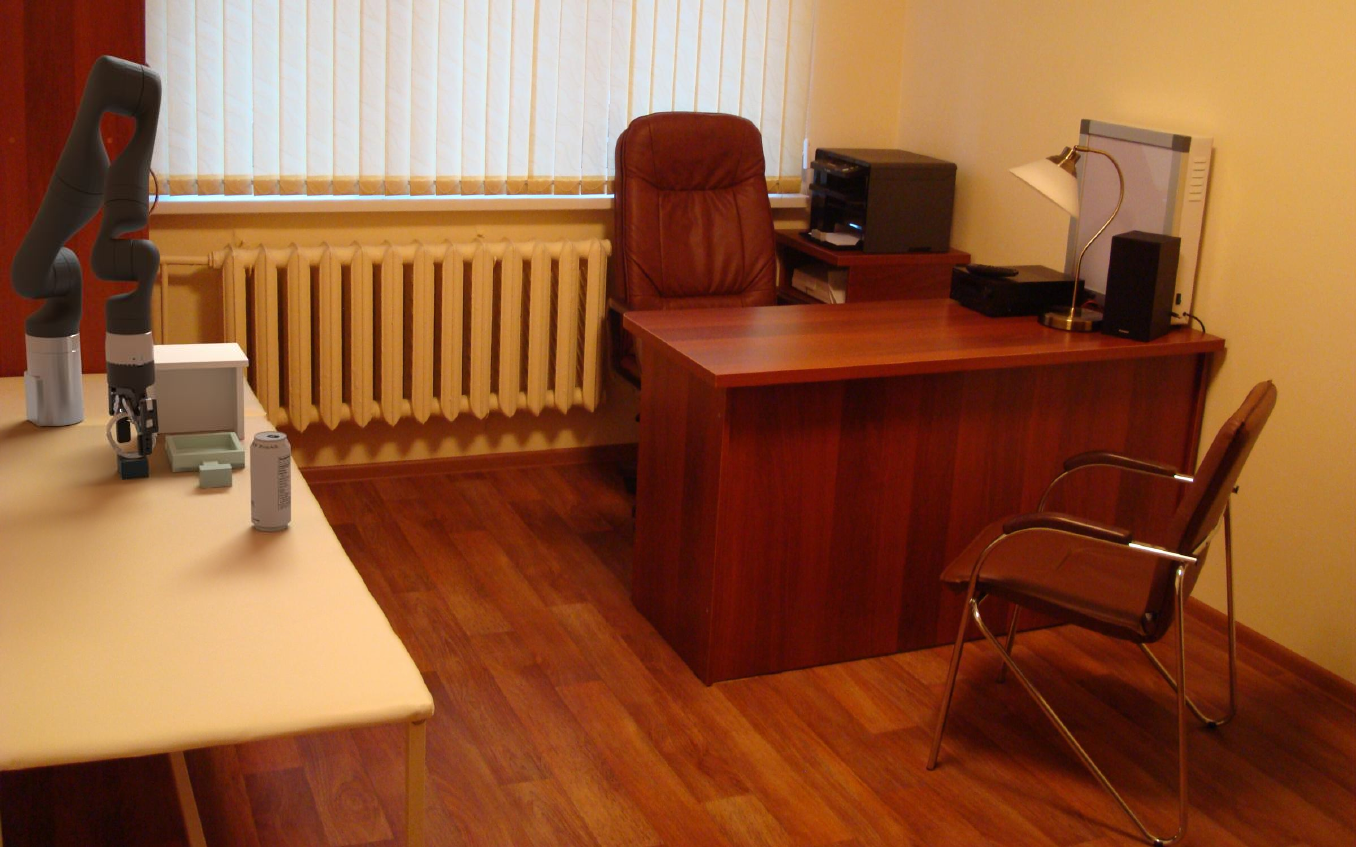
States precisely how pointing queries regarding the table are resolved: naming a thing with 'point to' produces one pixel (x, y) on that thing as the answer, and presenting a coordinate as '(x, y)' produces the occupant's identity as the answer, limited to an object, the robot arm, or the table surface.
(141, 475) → the watch
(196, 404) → the white side table
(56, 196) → the robot arm
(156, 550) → the table surface
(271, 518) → the energy drink can
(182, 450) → the tray
